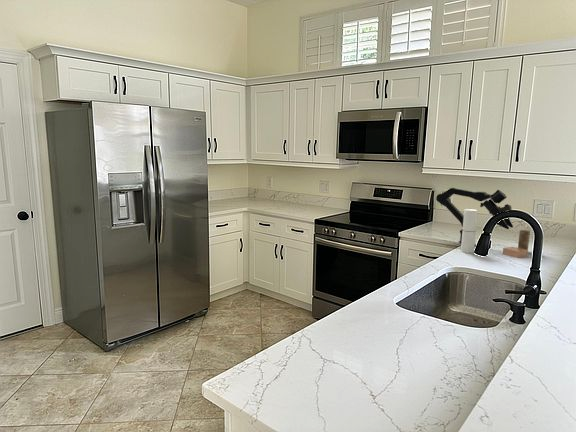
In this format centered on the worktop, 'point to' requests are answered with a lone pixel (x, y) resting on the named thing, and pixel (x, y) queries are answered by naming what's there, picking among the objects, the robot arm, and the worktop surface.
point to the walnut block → (524, 239)
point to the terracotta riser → (515, 252)
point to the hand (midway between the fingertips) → (510, 228)
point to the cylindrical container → (469, 230)
